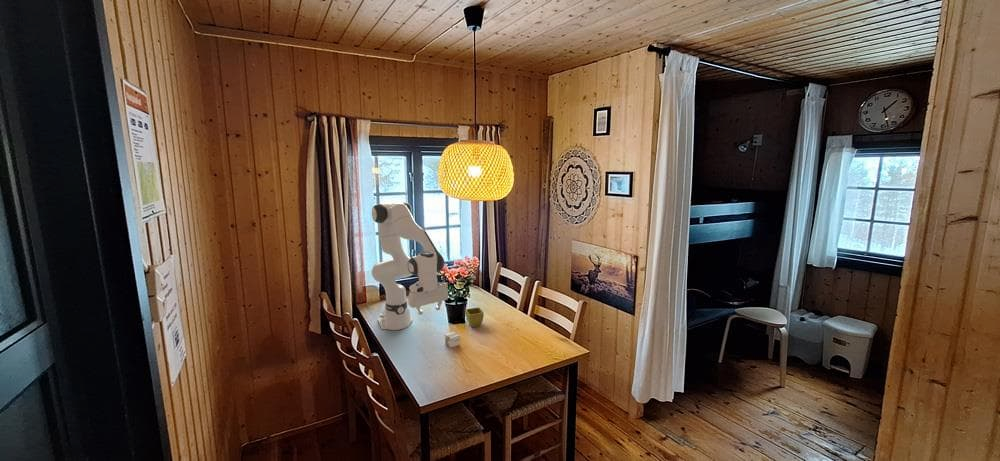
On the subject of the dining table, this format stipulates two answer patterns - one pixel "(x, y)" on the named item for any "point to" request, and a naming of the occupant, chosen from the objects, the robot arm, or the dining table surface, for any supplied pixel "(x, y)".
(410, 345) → the dining table surface
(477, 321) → the flower pot
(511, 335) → the dining table surface
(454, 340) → the letter cube
